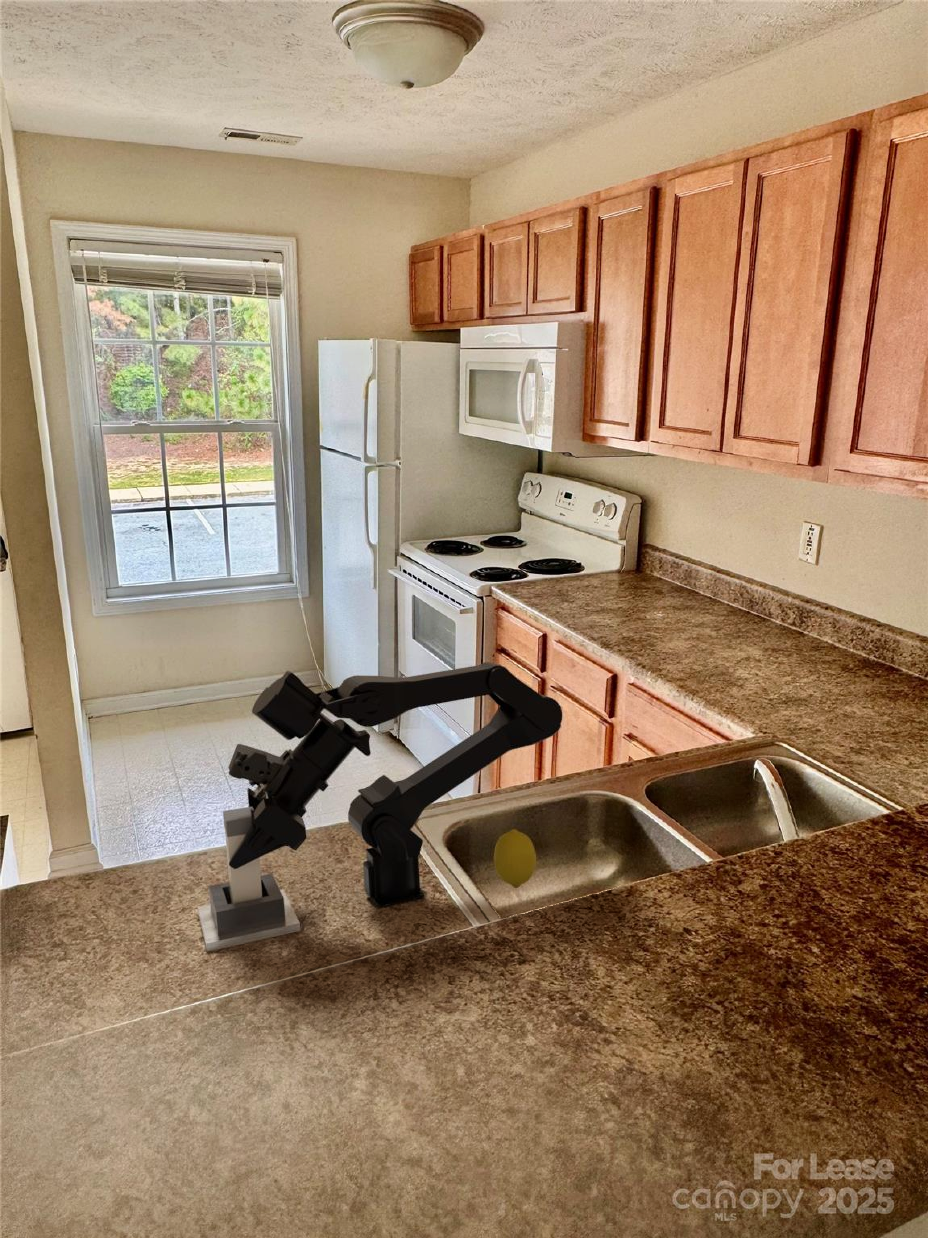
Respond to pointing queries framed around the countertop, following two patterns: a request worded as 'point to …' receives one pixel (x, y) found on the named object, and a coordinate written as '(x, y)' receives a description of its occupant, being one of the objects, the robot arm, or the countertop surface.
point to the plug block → (247, 876)
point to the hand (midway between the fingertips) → (231, 858)
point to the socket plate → (246, 916)
